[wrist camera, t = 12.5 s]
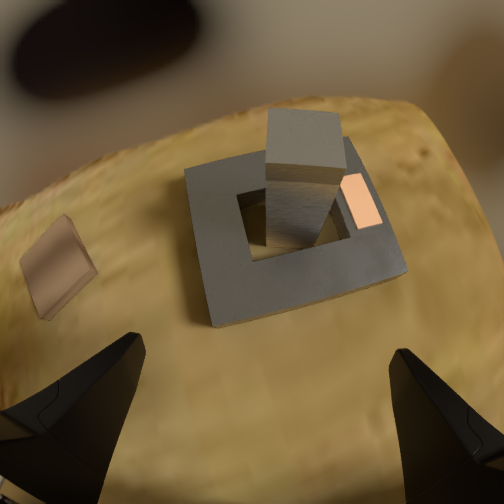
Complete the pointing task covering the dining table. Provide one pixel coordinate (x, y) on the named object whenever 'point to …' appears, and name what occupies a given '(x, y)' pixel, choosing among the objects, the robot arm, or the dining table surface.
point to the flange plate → (292, 264)
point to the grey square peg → (301, 174)
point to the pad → (57, 267)
